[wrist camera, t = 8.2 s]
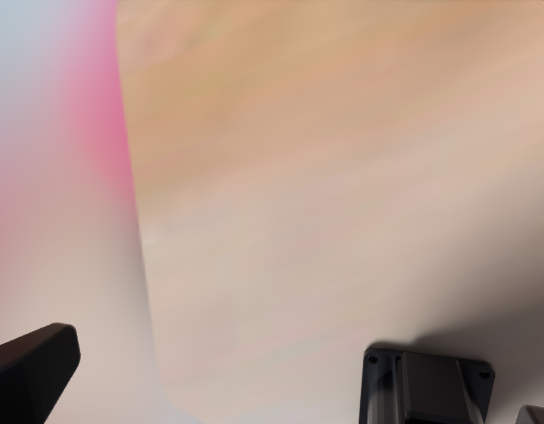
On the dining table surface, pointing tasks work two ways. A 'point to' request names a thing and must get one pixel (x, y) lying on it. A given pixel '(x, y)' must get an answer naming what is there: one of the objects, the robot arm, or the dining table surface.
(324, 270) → the dining table surface
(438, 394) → the robot arm
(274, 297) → the dining table surface
